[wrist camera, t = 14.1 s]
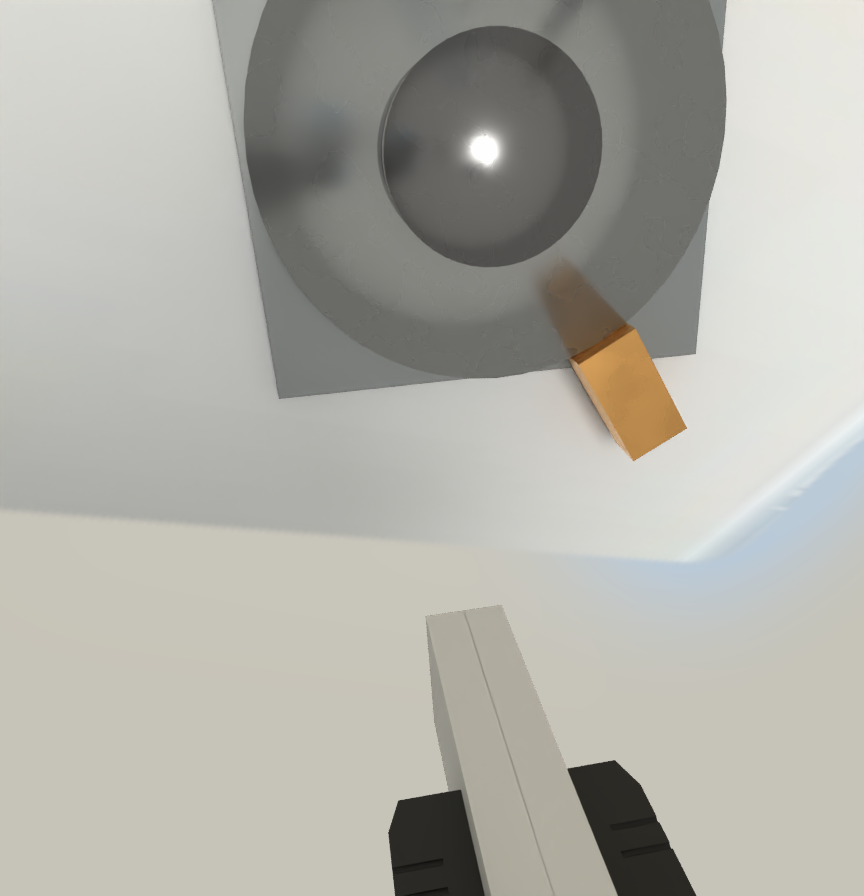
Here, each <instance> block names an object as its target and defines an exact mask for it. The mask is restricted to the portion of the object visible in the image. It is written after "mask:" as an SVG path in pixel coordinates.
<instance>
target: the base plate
mask: <svg viewBox="0 0 864 896" xmlns="http://www.w3.org/2000/svg"><path fill="white" fill-rule="evenodd" d="M212 1H213V7H214V13H215V19H216V25H217V31H218V37H219V43H220V48H221V54H222V60H223V66H224V72H225V78H226V84H227V90H228V96H229V102H230V108H231V114H232V120H233V126H234V132H235V138H236V144H237V150H238V156H239V162H240V168H241V174H242V180H243V186H244V192H245V198H246V204H247V210H248V216H249V222H250V227H251V233H252V239H253V245H254V251H255V257H256V263H257V269H258V275H259V281H260V287H261V293H262V299H263V305H264V311H265V317H266V323H267V329H268V335H269V341H270V347H271V353H272V359H273V365H274V371H275V377H276V383H277V389H278V395H279V399H282V398H292V397H301V396H310V395H320V394H329V393H338V392H347V391H357V390H366V389H375V388H384V387H394V386H403V385H412V384H421V383H431V382H440V381H449V380H459V379H468V378H459V377H450V376H441V375H437V374H432V373H428V372H424V371H420V370H416V369H412V368H410V367H407V366H405V365H402V364H399V363H397V362H394V361H392V360H389V359H387V358H385V357H383V356H381V355H379V354H377V353H375V352H374V351H372V350H370V349H368V348H366V347H364V346H363V345H361V344H360V343H358V342H357V341H355V340H354V339H353V338H351V337H350V336H348V335H347V334H346V333H344V332H343V331H342V330H340V329H339V328H338V327H336V326H335V325H334V324H333V323H332V322H331V321H330V320H329V319H328V318H327V317H326V316H325V315H324V314H323V313H321V312H320V311H319V310H318V309H317V308H316V307H315V306H314V304H313V303H312V302H311V301H310V300H309V298H308V297H307V296H306V295H305V294H304V292H303V291H302V290H301V289H300V288H299V286H298V285H297V284H296V283H295V281H294V279H293V278H292V276H291V275H290V273H289V272H288V270H287V268H286V267H285V265H284V264H283V262H282V261H281V259H280V257H279V256H278V254H277V252H276V250H275V247H274V245H273V243H272V241H271V239H270V237H269V235H268V233H267V231H266V229H265V226H264V224H263V221H262V218H261V215H260V212H259V209H258V206H257V203H256V200H255V197H254V194H253V189H252V184H251V179H250V174H249V169H248V164H247V159H246V148H245V135H244V100H245V83H246V77H247V72H248V66H249V60H250V54H251V48H252V45H253V41H254V38H255V35H256V31H257V28H258V25H259V22H260V18H261V15H262V12H263V9H264V7H265V5H266V3H267V0H212ZM726 1H727V0H709V2H710V5H711V9H712V12H713V15H714V18H715V22H716V25H717V28H718V32H719V37H720V43H721V49H722V47H723V36H724V24H725V13H726ZM708 207H709V202H708V205H707V207H706V210H705V212H704V215H703V217H702V220H701V222H700V224H699V227H698V229H697V231H696V233H695V235H694V237H693V238H692V240H691V242H690V244H689V246H688V248H687V250H686V251H685V253H684V255H683V257H682V258H681V260H680V261H679V263H678V264H677V266H676V267H675V268H674V270H673V271H672V273H671V274H670V276H669V277H668V279H667V280H666V281H665V283H664V284H663V285H662V286H661V287H660V288H659V290H658V291H657V292H656V293H655V294H654V295H653V297H652V298H651V299H650V300H649V301H648V302H647V303H646V305H645V306H643V307H642V308H641V309H640V310H639V311H638V312H637V313H636V314H635V315H634V316H633V317H631V318H630V319H629V320H628V321H627V322H626V323H627V324H629V325H631V326H632V327H634V328H635V329H636V330H637V332H638V334H639V336H640V338H641V340H642V342H643V344H644V346H645V348H646V350H647V352H648V354H649V356H650V358H651V359H653V358H663V357H672V356H681V355H690V354H696V344H697V332H698V321H699V310H700V298H701V287H702V275H703V264H704V253H705V241H706V230H707V218H708ZM570 367H572V365H571V363H570V362H569V360H568V359H566V360H564V361H561V362H559V363H556V364H554V365H552V366H549V367H546V368H542V369H538V370H535V371H542V370H551V369H561V368H570ZM531 372H533V371H531Z"/></svg>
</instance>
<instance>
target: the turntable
mask: <svg viewBox="0 0 864 896" xmlns="http://www.w3.org/2000/svg"><path fill="white" fill-rule="evenodd" d="M486 26H509V27H515V28H521V29H524V30H527V31H530V32H533V33H536V34H538V35H540V36H542V37H544V38H546V39H547V40H549V41H551V42H552V43H553V44H555V45H556V46H558V47H559V48H560V49H562V50H563V51H564V52H565V53H566V54H567V55H568V56H569V57H570V58H571V59H572V60H573V61H574V63H575V64H576V65H577V67H578V68H579V69H580V70H581V72H582V73H583V75H584V77H585V79H586V80H587V82H588V84H589V85H590V88H591V90H592V93H593V95H594V97H595V100H596V103H597V107H598V111H599V114H600V121H601V127H602V156H601V164H600V169H599V174H598V178H597V181H596V184H595V187H594V190H593V192H592V195H591V197H590V199H589V201H588V203H587V205H586V207H585V209H584V210H583V212H582V214H581V215H580V217H579V218H578V220H577V221H576V222H575V223H574V225H573V226H572V227H571V229H570V230H569V231H568V232H567V233H566V234H565V235H564V236H563V237H562V238H561V239H560V240H558V241H557V242H556V243H555V244H553V245H552V246H551V247H550V248H548V249H547V250H545V251H543V252H542V253H540V254H538V255H537V256H534V257H532V258H530V259H528V260H525V261H523V262H519V263H516V264H513V265H507V266H501V267H477V266H470V265H466V264H462V263H458V262H456V261H453V260H451V259H448V258H446V257H444V256H442V255H441V254H439V253H437V252H435V251H434V250H432V249H431V248H430V247H429V246H427V245H426V244H425V243H423V242H422V241H421V240H420V239H419V238H418V237H417V236H416V235H415V234H414V233H413V232H412V230H411V229H410V228H409V227H408V226H407V225H406V223H405V222H404V221H403V220H402V219H401V217H400V216H399V215H398V213H397V212H396V211H395V209H394V207H393V206H392V204H391V202H390V200H389V199H388V196H387V194H386V191H385V189H384V187H383V183H382V180H381V176H380V172H379V165H378V155H377V142H378V131H379V127H380V122H381V118H382V115H383V112H384V109H385V106H386V103H387V101H388V99H389V97H390V95H391V93H392V91H393V90H394V88H395V87H396V85H397V84H398V82H399V81H400V79H401V78H402V77H403V76H404V75H405V74H406V72H407V71H408V70H409V69H410V68H411V67H412V66H413V65H414V64H416V63H417V62H418V61H419V60H420V59H421V58H422V57H423V56H424V55H426V54H427V53H428V52H429V51H430V50H431V49H432V48H434V47H435V46H437V45H438V44H440V43H441V42H443V41H444V40H446V39H448V38H450V37H452V36H454V35H456V34H458V33H460V32H464V31H467V30H470V29H474V28H479V27H486ZM725 117H726V83H725V66H724V60H723V54H722V49H721V43H720V37H719V32H718V28H717V25H716V22H715V18H714V15H713V12H712V9H711V5H710V2H709V0H267V3H266V5H265V7H264V9H263V12H262V15H261V18H260V22H259V25H258V28H257V31H256V35H255V38H254V41H253V45H252V48H251V54H250V60H249V66H248V72H247V77H246V83H245V100H244V135H245V148H246V159H247V164H248V169H249V174H250V179H251V184H252V189H253V194H254V197H255V200H256V203H257V206H258V209H259V212H260V215H261V218H262V221H263V224H264V226H265V229H266V231H267V233H268V235H269V237H270V239H271V241H272V243H273V245H274V247H275V250H276V252H277V254H278V256H279V257H280V259H281V261H282V262H283V264H284V265H285V267H286V268H287V270H288V272H289V273H290V275H291V276H292V278H293V279H294V281H295V283H296V284H297V285H298V286H299V288H300V289H301V290H302V291H303V292H304V294H305V295H306V296H307V297H308V298H309V300H310V301H311V302H312V303H313V304H314V306H315V307H316V308H317V309H318V310H319V311H320V312H321V313H323V314H324V315H325V316H326V317H327V318H328V319H329V320H330V321H331V322H332V323H333V324H334V325H335V326H336V327H338V328H339V329H340V330H342V331H343V332H344V333H346V334H347V335H348V336H350V337H351V338H353V339H354V340H355V341H357V342H358V343H360V344H361V345H363V346H364V347H366V348H368V349H370V350H372V351H374V352H375V353H377V354H379V355H381V356H383V357H385V358H387V359H389V360H392V361H394V362H397V363H399V364H402V365H405V366H407V367H410V368H412V369H416V370H420V371H424V372H428V373H432V374H437V375H441V376H450V377H459V378H498V377H505V376H511V375H518V374H524V373H528V372H531V371H535V370H538V369H542V368H546V367H549V366H552V365H554V364H556V363H559V362H561V361H564V360H566V359H568V360H569V362H570V363H571V365H572V367H573V369H574V370H575V372H576V374H577V376H578V377H579V379H580V381H581V382H582V384H583V386H584V388H585V389H586V391H587V393H588V395H589V396H590V398H591V400H592V402H593V403H594V405H595V407H596V409H597V410H598V412H599V414H600V416H601V417H602V419H603V421H604V423H605V424H606V426H607V428H608V429H609V431H610V433H611V435H612V436H613V438H614V440H615V442H616V443H617V444H618V445H619V446H620V447H621V448H622V449H623V450H624V451H625V453H626V454H627V455H628V456H629V457H630V458H631V459H632V460H633V461H635V460H636V459H638V458H639V457H641V456H643V455H644V454H646V453H648V452H649V451H651V450H652V449H654V448H656V447H657V446H659V445H661V444H662V443H664V442H665V441H667V440H669V439H670V438H672V437H674V436H675V435H677V434H678V433H680V432H682V431H683V430H685V429H687V427H686V426H685V424H684V422H683V420H682V418H681V416H680V414H679V412H678V410H677V408H676V406H675V404H674V402H673V400H672V398H671V396H670V394H669V393H668V391H667V389H666V387H665V385H664V383H663V381H662V379H661V377H660V375H659V373H658V371H657V369H656V367H655V365H654V363H653V361H652V359H651V358H650V356H649V354H648V352H647V350H646V348H645V346H644V344H643V342H642V340H641V338H640V336H639V334H638V332H637V330H636V329H635V328H634V327H632V326H631V325H629V324H627V323H626V322H627V321H628V320H629V319H630V318H631V317H633V316H634V315H635V314H636V313H637V312H638V311H639V310H640V309H641V308H642V307H643V306H645V305H646V303H647V302H648V301H649V300H650V299H651V298H652V297H653V295H654V294H655V293H656V292H657V291H658V290H659V288H660V287H661V286H662V285H663V284H664V283H665V281H666V280H667V279H668V277H669V276H670V274H671V273H672V271H673V270H674V268H675V267H676V266H677V264H678V263H679V261H680V260H681V258H682V257H683V255H684V253H685V251H686V250H687V248H688V246H689V244H690V242H691V240H692V238H693V237H694V235H695V233H696V231H697V229H698V227H699V224H700V222H701V220H702V217H703V215H704V212H705V210H706V207H707V205H708V202H709V200H710V197H711V193H712V190H713V186H714V183H715V179H716V176H717V172H718V169H719V164H720V158H721V152H722V146H723V140H724V134H725Z"/></svg>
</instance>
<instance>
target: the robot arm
mask: <svg viewBox="0 0 864 896" xmlns="http://www.w3.org/2000/svg"><path fill="white" fill-rule="evenodd" d="M426 625H427V637H428V649H429V661H430V673H431V686H432V699H433V711H434V722H435V727H436V732H437V736H438V742H439V746H440V751H441V756H442V761H443V766H444V771H445V775H446V780H447V785H448V790H449V792H445V793H439V794H433V795H427V796H422V797H416V798H410V799H405V800H400V801H398V804H397V807H396V810H395V813H394V816H393V820H392V823H391V826H390V829H389V833H388V834H389V843H390V851H391V860H392V870H393V880H394V889H395V896H696V894H695V892H694V890H693V888H692V886H691V884H690V882H689V880H688V878H687V876H686V874H685V872H684V870H683V868H682V867H681V864H680V862H679V861H678V859H677V857H676V854H675V853H674V850H673V849H671V847H670V844H669V840H668V839H667V836H666V834H665V832H664V831H663V829H662V827H661V825H660V823H659V822H658V821H657V818H656V815H655V813H654V811H653V809H652V807H651V805H650V803H649V801H648V799H647V797H646V795H645V793H644V791H643V789H642V787H641V785H640V784H639V783H638V782H637V781H636V780H635V779H634V778H633V777H632V776H631V775H630V774H629V773H628V772H627V771H625V770H624V769H623V768H622V767H621V766H620V765H619V764H618V763H617V762H616V761H615V760H613V761H608V762H603V763H597V764H592V765H585V766H580V767H574V768H568V769H567V768H566V765H565V763H564V760H563V758H562V755H561V753H560V750H559V748H558V745H557V743H556V740H555V738H554V735H553V733H552V730H551V728H550V725H549V723H548V720H547V718H546V715H545V713H544V710H543V708H542V705H541V703H540V700H539V698H538V695H537V693H536V690H535V688H534V685H533V683H532V680H531V678H530V675H529V673H528V670H527V668H526V665H525V663H524V660H523V658H522V655H521V653H520V650H519V648H518V645H517V643H516V640H515V638H514V635H513V633H512V630H511V628H510V625H509V622H508V620H507V618H506V615H505V612H504V610H503V608H502V606H501V605H498V606H491V607H484V608H477V609H470V610H464V611H457V612H450V613H444V614H437V615H430V616H426Z"/></svg>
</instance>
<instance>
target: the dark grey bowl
mask: <svg viewBox="0 0 864 896" xmlns="http://www.w3.org/2000/svg"><path fill="white" fill-rule="evenodd" d="M377 155H378V165H379V172H380V176H381V180H382V183H383V187H384V189H385V191H386V194H387V196H388V199H389V200H390V202H391V204H392V206H393V207H394V209H395V211H396V212H397V213H398V215H399V216H400V217H401V219H402V220H403V221H404V222H405V223H406V225H407V226H408V227H409V228H410V229H411V230H412V232H413V233H414V234H415V235H416V236H417V237H418V238H419V239H420V240H421V241H422V242H423V243H425V244H426V245H427V246H429V247H430V248H431V249H432V250H434V251H435V252H437V253H439V254H441V255H442V256H444V257H446V258H448V259H451V260H453V261H456V262H458V263H462V264H466V265H470V266H477V267H501V266H507V265H513V264H516V263H519V262H523V261H525V260H528V259H530V258H532V257H534V256H537V255H538V254H540V253H542V252H543V251H545V250H547V249H548V248H550V247H551V246H552V245H553V244H555V243H556V242H557V241H558V240H560V239H561V238H562V237H563V236H564V235H565V234H566V233H567V232H568V231H569V230H570V229H571V227H572V226H573V225H574V223H575V222H576V221H577V220H578V218H579V217H580V215H581V214H582V212H583V210H584V209H585V207H586V205H587V203H588V201H589V199H590V197H591V195H592V192H593V190H594V187H595V184H596V181H597V178H598V174H599V169H600V164H601V156H602V127H601V121H600V114H599V111H598V107H597V103H596V100H595V97H594V95H593V93H592V90H591V88H590V85H589V84H588V82H587V80H586V79H585V77H584V75H583V73H582V72H581V70H580V69H579V68H578V67H577V65H576V64H575V63H574V61H573V60H572V59H571V58H570V57H569V56H568V55H567V54H566V53H565V52H564V51H563V50H562V49H560V48H559V47H558V46H556V45H555V44H553V43H552V42H551V41H549V40H547V39H546V38H544V37H542V36H540V35H538V34H536V33H533V32H530V31H527V30H524V29H521V28H515V27H509V26H486V27H479V28H474V29H470V30H467V31H464V32H460V33H458V34H456V35H454V36H452V37H450V38H448V39H446V40H444V41H443V42H441V43H440V44H438V45H437V46H435V47H434V48H432V49H431V50H430V51H429V52H428V53H427V54H426V55H424V56H423V57H422V58H421V59H420V60H419V61H418V62H417V63H416V64H414V65H413V66H412V67H411V68H410V69H409V70H408V71H407V72H406V74H405V75H404V76H403V77H402V78H401V79H400V81H399V82H398V84H397V85H396V87H395V88H394V90H393V91H392V93H391V95H390V97H389V99H388V101H387V103H386V106H385V109H384V112H383V115H382V118H381V122H380V127H379V131H378V142H377Z"/></svg>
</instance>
